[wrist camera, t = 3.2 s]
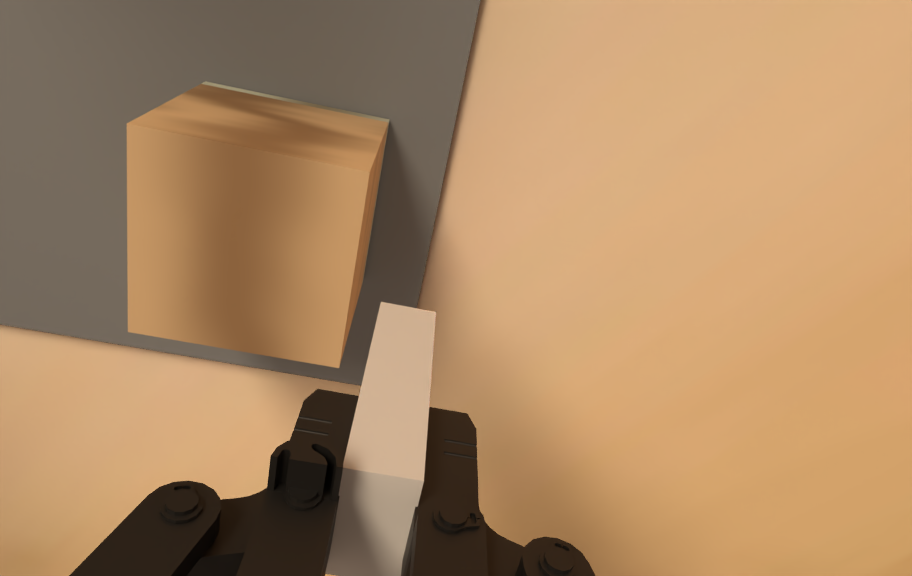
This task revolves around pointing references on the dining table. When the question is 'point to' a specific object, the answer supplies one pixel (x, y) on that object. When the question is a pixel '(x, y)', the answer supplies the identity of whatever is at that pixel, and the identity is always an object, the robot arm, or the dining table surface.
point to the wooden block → (250, 221)
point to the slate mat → (175, 72)
